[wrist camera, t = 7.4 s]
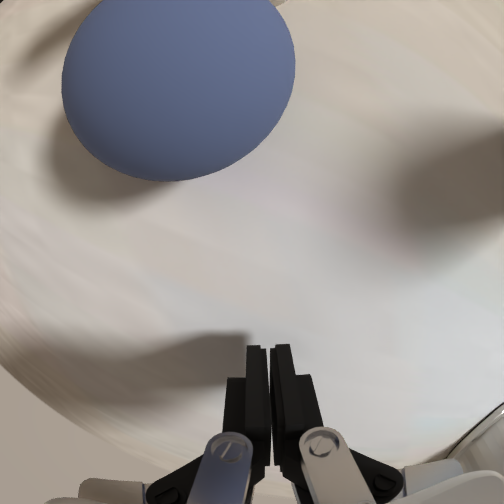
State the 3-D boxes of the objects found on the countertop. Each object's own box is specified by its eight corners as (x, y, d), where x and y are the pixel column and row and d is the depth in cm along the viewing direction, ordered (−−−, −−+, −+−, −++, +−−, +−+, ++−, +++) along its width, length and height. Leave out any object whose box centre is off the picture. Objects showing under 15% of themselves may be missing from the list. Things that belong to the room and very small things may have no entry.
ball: (266, -42, 4) (322, 106, 8) (121, 27, 7) (181, 141, 11) (186, -107, 1) (321, 215, 5) (-9, 80, 3) (101, 244, 7)
